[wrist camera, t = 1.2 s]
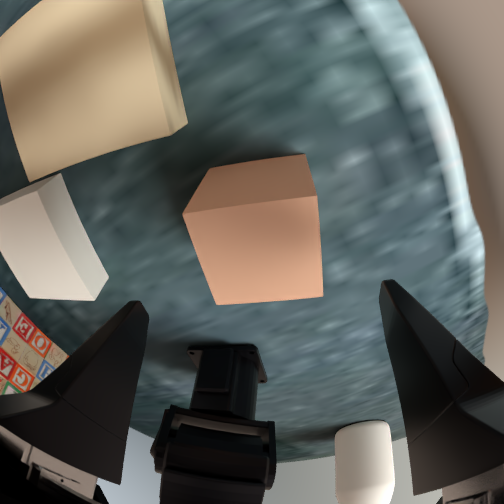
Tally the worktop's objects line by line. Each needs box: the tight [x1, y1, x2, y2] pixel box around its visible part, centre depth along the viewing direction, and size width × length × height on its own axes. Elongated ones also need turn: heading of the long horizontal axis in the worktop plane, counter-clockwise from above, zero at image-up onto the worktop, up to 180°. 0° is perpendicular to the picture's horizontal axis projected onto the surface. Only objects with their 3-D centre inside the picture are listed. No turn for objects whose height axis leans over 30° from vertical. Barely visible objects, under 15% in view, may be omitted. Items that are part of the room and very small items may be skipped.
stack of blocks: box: [0, 287, 69, 395], centre depth 25 cm, size 21×6×12 cm, turn 25°
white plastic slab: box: [0, 173, 109, 301], centre depth 17 cm, size 9×9×3 cm
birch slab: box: [0, 0, 188, 182], centre depth 10 cm, size 10×10×3 cm
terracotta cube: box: [182, 154, 323, 305], centre depth 13 cm, size 5×5×5 cm
